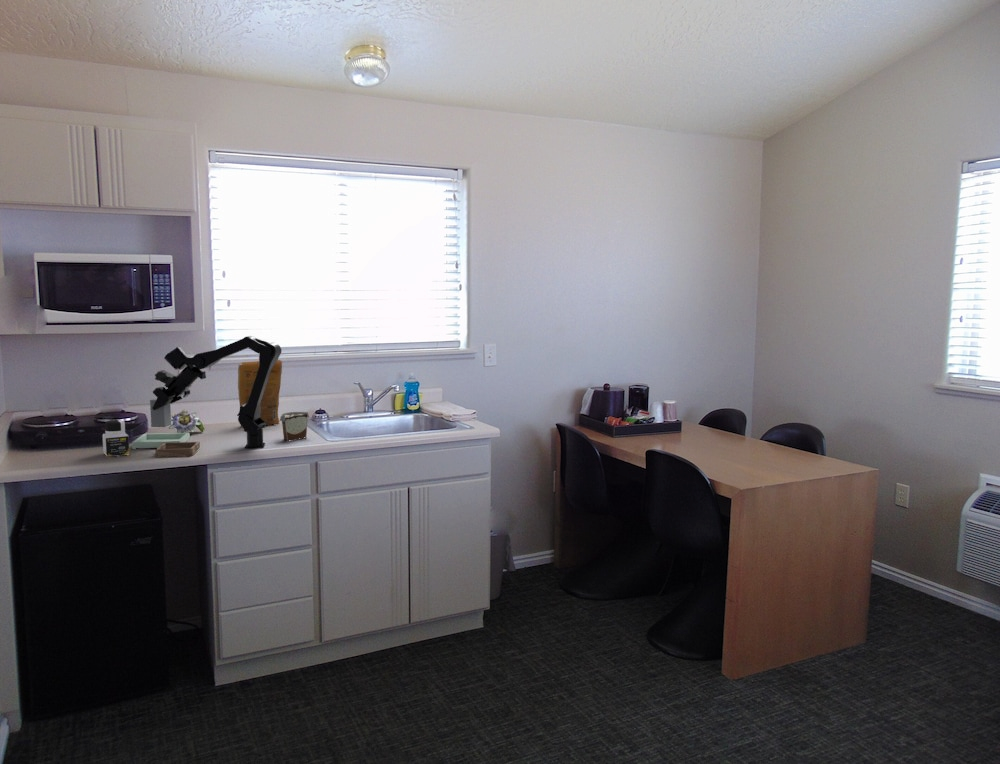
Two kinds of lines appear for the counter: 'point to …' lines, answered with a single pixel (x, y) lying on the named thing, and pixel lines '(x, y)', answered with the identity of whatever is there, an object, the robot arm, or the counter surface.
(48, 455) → the counter surface
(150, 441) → the mint green tray
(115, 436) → the medicine bottle
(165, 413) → the grey peg
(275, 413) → the pancake mix bag
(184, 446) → the walnut collar
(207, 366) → the robot arm
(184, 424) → the passion flower
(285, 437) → the food container
